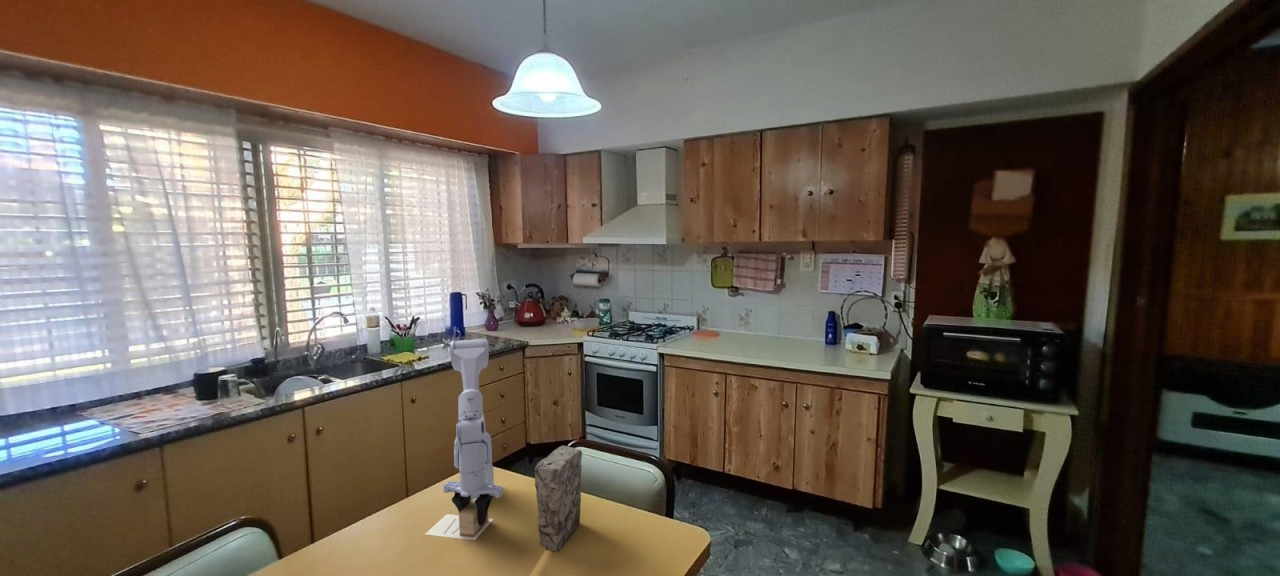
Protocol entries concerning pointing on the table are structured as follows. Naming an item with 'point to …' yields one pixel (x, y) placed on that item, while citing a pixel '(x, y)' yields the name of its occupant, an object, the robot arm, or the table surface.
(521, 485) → the table surface
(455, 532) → the board
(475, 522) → the block
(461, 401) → the robot arm
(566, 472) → the stone block
